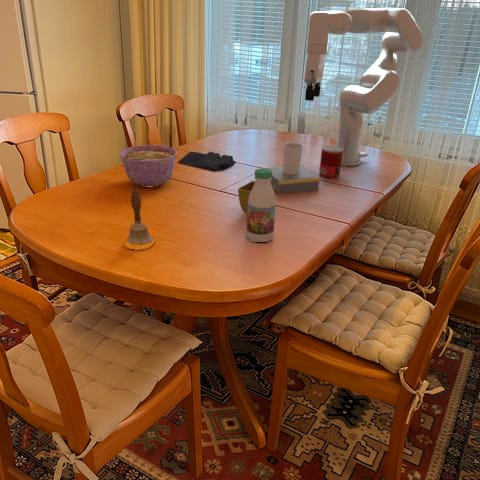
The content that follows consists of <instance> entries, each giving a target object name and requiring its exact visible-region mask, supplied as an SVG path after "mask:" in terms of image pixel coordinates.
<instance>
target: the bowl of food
mask: <svg viewBox="0 0 480 480" xmlns="http://www.w3.org/2000/svg"><path fill="white" fill-rule="evenodd" d="M119 155H120V159H121V162H122V166H123V168H124V171H125V173H126V176H127V177H128V179H129V180H130V181H131V182H133V183H134V184H136V185H139V186H141V185H144V186H156V185H160V184H161V185H163V184H164V183H167V182H169V180H171V178H172V177H173V173H174V170H175V165H176V160H177V155H178V151H177V150H176V149H175V148H172V147H171V146H167V145H160V144H159V145H158V144H157V145H156V144H144V145H143V144H142V145H134V146H129V147H127V148H124V149H123V150H121V151H120V152H119ZM161 185H160V186H161Z"/></svg>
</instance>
